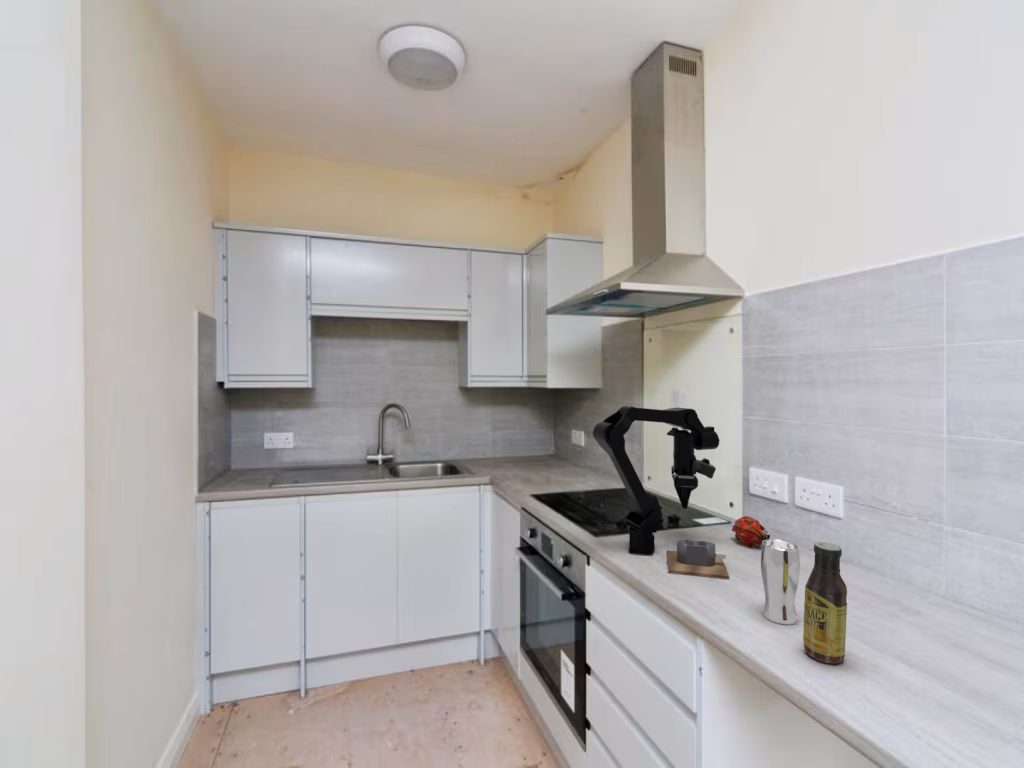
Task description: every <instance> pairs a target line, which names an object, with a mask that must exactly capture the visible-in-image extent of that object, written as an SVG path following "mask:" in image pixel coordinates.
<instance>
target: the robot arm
mask: <svg viewBox="0 0 1024 768" xmlns="http://www.w3.org/2000/svg"><path fill="white" fill-rule="evenodd" d="M635 421H636V422H637V421H639V422H652V423H664V424H666V425H668V426H672V428H671V429H670V430H668V432H666V435H667V436H669V437H673V453H672V456H673V465H671V470H670V471H671V478H672V480H673V487H674V489H675V492H676V494H677V496H678V500H679V503H680V504H681V507H682V508H683V510H685V509H688V506H689V502H690V499H691V495H692V491H694V490H696V489H697V488H698V487H699V479H698V477H697V476H696V475H697V473H698V474H700V475H703V476H705V477H706V478H708V479H713V477H714V475H715V472H716V469H717V468H716V467H715V465H713V464H711V462H710V459H709V458H708V459H707V458H705V457H703V458H702V459H700V460H699V459H697V456H696V455H695V450H696V451H704V450H705V451H706V450H717V448H718V447H719V446H720V438H719V435H718V432H716V431H715V426H704V425H703V423H702V421H701V420H700V418H699V416H698V413H697V412H696V410H695V409H693V408H687V407H686V408H685V407H669V408H665V409H658V408H657V409H656V408H654V409H653V408H646V407H645V408H644V407H635V406H630V405H623V406H621V407H620V408H618V410H617V411H616V412H614V413H612V414H611V415H609V416H607V417H606V418H605V419H604V420H603V421H602V422H598V423H597V424H595V426H594V427H593V431H592V437H593V438H594V440H595V441H596V443H597V444H598V446H600V448H601V449H602V450H604V452H606V454H607V455H608V456H609V458H610V459H611V462H612V464H613V466H614V468H615V470H616V471H617V475H618V476H619V478H620V480H621V482H622V484H623V486H624V488H625V490H626V491H627V494H628V496H629V507H630V511H629V512H628V514H627V515H625V517H624V518H623V520H624V523H625V526H627V527H629V530H628V531H629V532H628V533H629V535H628V537H629V538H628V539H629V541H628V542H629V544H628V553H629V554H634V555H635V554H636V555H646V556H648V555H649V556H654V551H655V549H656V548H655V547H656V546H655V543H656V542H655V540H656V539H655V538H656V537H655V533H657V531H658V530H659V529H658V528H659V525H660V522H661V520H662V517H663V511H662V510H663V507H662V506H661V504H660V503H659V499H658V497H657V496H656V495H654V494H651V493H649V492H646V490H645V487H644V486H643V484H642V482H641V480H640V477H639V476H638V473H637V471H636V470H635V468H634V465H633V463H632V461H631V459H630V457H629V456H628V453H627V451H626V439H625V436H624V435H626V434H627V433H628V431H629V430H630V429H631V426H632V424H633V423H634V422H635ZM673 426H674V427H673ZM679 428H680V429H679Z"/></svg>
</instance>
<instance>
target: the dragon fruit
mask: <svg viewBox="0 0 1024 768" xmlns="http://www.w3.org/2000/svg"><path fill="white" fill-rule="evenodd" d="M731 531H732V532H734V533H735V534H734V536H735V540H736V541H737V542H743V543H744V544H745V545H746V546H747V547H749V548H751V549H752V548H754V549H755V548H757V547H756V546H755V545H761V546H762V541H764V540H768V539H771V534H768V531H767V530H766V528H765V527H764V526H763V525H762V524H760V521H759V520H758V519H756V518H753V517H752V516H749V515H747V516H741V517H740V518H737V520H735V521H734V524H733V525H732V528H731Z"/></svg>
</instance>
